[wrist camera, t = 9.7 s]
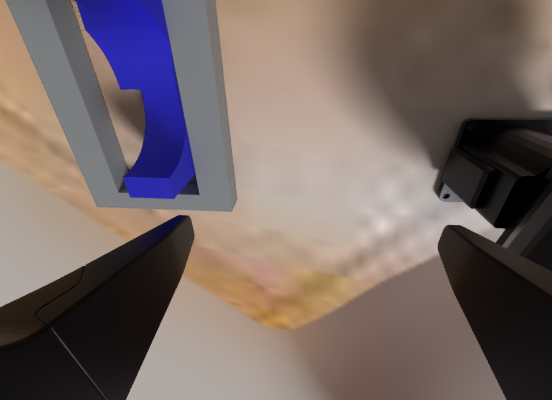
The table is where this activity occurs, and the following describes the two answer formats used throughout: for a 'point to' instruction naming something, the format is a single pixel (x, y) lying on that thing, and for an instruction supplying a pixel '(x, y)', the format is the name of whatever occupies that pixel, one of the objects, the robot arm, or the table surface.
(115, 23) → the blue curved bracket
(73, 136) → the gray rectangular open frame
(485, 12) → the table surface
